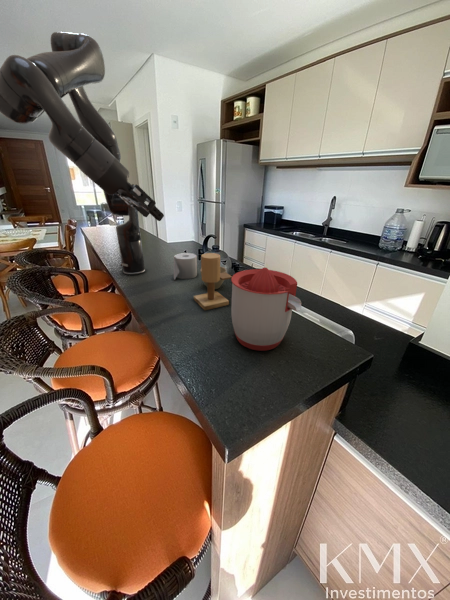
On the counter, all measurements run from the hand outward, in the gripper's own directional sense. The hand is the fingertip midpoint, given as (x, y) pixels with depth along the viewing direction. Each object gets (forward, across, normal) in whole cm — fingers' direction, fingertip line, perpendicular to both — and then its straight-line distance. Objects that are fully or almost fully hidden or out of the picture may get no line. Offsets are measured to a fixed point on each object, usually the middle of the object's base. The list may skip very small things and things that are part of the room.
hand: (154, 216), depth 68 cm
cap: (+26, -6, +2) cm, 27 cm away
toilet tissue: (+35, +22, +6) cm, 41 cm away
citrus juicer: (+29, -32, +12) cm, 45 cm away
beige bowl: (+37, +4, +4) cm, 38 cm away
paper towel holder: (+31, -6, +10) cm, 33 cm away
